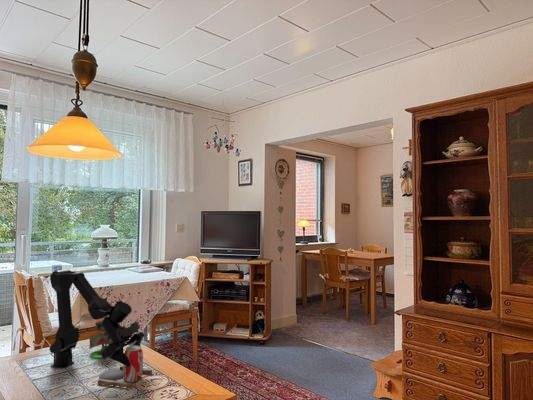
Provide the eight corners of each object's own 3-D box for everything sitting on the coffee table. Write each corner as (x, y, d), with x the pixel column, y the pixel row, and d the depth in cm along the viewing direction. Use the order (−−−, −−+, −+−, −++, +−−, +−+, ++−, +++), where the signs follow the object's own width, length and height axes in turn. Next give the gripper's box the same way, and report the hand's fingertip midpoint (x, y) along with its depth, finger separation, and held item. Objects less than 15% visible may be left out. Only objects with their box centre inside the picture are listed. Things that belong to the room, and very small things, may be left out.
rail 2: (119, 370, 154) (119, 366, 154) (121, 369, 155) (121, 365, 155) (150, 374, 150) (150, 370, 150) (152, 373, 151) (152, 369, 152)
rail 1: (97, 384, 141) (97, 380, 141) (99, 382, 142) (100, 378, 142) (130, 388, 138) (130, 384, 138) (132, 387, 139) (132, 383, 139)
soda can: (136, 384, 141) (137, 351, 142) (119, 382, 143) (120, 350, 143) (145, 376, 148) (146, 345, 149) (129, 374, 150) (130, 344, 150)
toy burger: (123, 353, 173) (124, 320, 173) (96, 361, 163) (97, 326, 164) (111, 347, 180) (112, 315, 181) (84, 354, 171) (85, 320, 171)
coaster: (93, 379, 145) (93, 378, 145) (110, 369, 155) (110, 368, 155) (115, 382, 143) (116, 381, 143) (131, 372, 152) (131, 371, 152)
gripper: (108, 323, 139) (132, 357, 135) (141, 311, 157) (163, 342, 152) (91, 342, 141) (113, 376, 137) (125, 328, 159) (146, 359, 155)
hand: (136, 362), depth 145 cm, fingers closed on soda can, 7 cm apart
